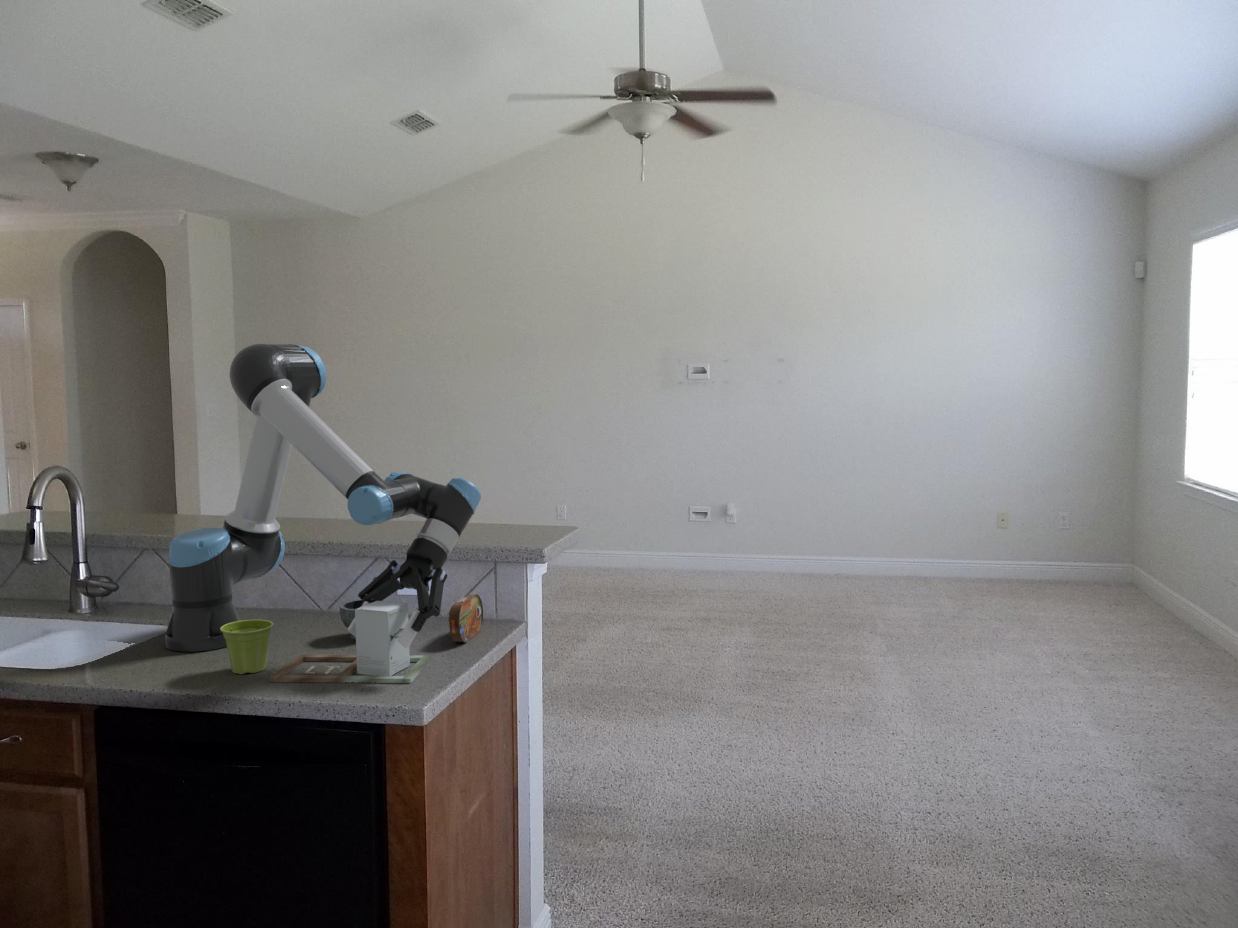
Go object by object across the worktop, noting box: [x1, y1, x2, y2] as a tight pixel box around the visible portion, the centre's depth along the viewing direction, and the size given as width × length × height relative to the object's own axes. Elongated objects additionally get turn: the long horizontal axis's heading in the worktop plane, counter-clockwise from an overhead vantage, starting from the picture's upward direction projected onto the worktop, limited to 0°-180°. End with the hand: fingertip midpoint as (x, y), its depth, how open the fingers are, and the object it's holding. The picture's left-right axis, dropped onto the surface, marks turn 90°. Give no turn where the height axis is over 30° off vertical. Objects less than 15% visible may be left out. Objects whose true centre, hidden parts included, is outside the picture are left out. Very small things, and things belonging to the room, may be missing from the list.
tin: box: [448, 593, 484, 644], centre depth 203 cm, size 15×3×8 cm, turn 170°
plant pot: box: [220, 619, 274, 675], centre depth 182 cm, size 9×9×9 cm
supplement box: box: [355, 600, 411, 676], centre depth 181 cm, size 7×7×13 cm
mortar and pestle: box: [339, 576, 384, 640], centre depth 205 cm, size 11×9×12 cm
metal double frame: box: [268, 654, 432, 684], centre depth 181 cm, size 26×14×1 cm, turn 86°
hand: (376, 639), depth 179 cm, fingers open, 13 cm apart
